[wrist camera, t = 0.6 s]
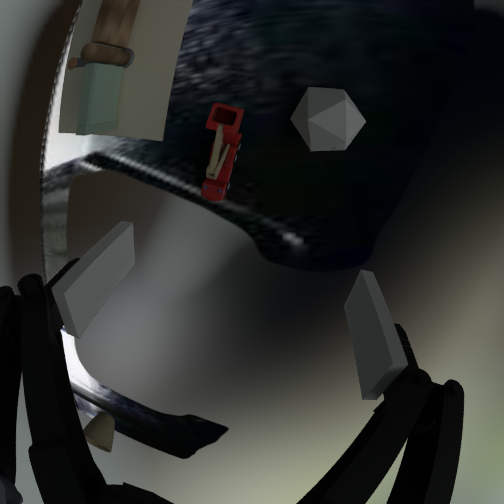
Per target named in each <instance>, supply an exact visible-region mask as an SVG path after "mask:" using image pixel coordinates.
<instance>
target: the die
mask: <svg viewBox="0 0 504 504" xmlns="http://www.w3.org/2000/svg"><path fill="white" fill-rule="evenodd" d="M290 119H291V121H292V122H293V124H294V125H295V127H296V128H297V130H298V131H299V133H300V134H301V136H302V138H303V139H304V141H305V142H306V144H307V145H308V147H309V149H310V150H311V151H326V150H345V149H346V148H347V147H348V145H349V144H350V143H351V141H352V140H353V138H354V137H355V136H356V134H357V133H358V132H359V130H360V129H361V128H362V126H363V125H364V124H365V122H366V121H365V119H364V118H363V116H362V115H361V113H360V112H359V110H358V109H357V108H356V106H355V105H354V103H353V102H352V101H351V99H350V98H349V96H348V95H347V94H346V92H345V91H344V90H341V89H330V88H316V87H308V89H307V91H306V92H305V94H304V96H303V97H302V99H301V101H300V102H299V104H298V106H297V108H296V109H295V111H294V113H293V115H292V116H291V118H290Z"/></svg>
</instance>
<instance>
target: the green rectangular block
mask: <svg viewBox="0 0 504 504" xmlns="http://www.w3.org/2000/svg"><path fill="white" fill-rule="evenodd" d="M122 72H123V67H119V66H113V65H105V64H98V63H90V64H86V66H85V72H84V78H83V84H82V91H81V98H80V107H79V117H78V126H76V135H89V134H93V133H97V132H101V131H105V130H110V129H114V128H117V125H118V121H116V120H115V118H116V109H117V102H118V95H119V89H120V83H121V77H122Z"/></svg>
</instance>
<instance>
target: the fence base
mask: <svg viewBox="0 0 504 504" xmlns="http://www.w3.org/2000/svg"><path fill="white" fill-rule="evenodd" d="M140 1H141V0H103V1H102V4H101V7H100V10H99V13H98V16H97V20H96V23H95V27H94V31H93V34H92V38H91V42H92V43H99V44H103V45H108V46H112V47H116V48H120V49H125V48H128V44H129V40H130V36H131V32H132V28H133V24H134V21H135V17H136V14H137V11H138V7H139V4H140ZM92 43H88V44H86V45H85V46H84V47H83V48H82V50H81V53H80V56H81V59H83V60H88V61H97V62H104V63H111V64H118V65H126V64H127V63H128V62H129V61H130V58H131V55H130V53H129V52H127V51H123V50H119V49H115V48H111V47H107V46H102V45H97V44H92Z"/></svg>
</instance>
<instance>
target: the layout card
mask: <svg viewBox="0 0 504 504" xmlns="http://www.w3.org/2000/svg"><path fill="white" fill-rule="evenodd" d="M102 1H103V0H83V3H82V6H81V9H80V12H79V15H78V18H77V22H76V25H75V29H74V33H73V37H72V41H71V45H70V50H69V54H68V59H67V64H66V70H65V76H64V83H63V90H62V98H61V107H60V118H59V133H76V126H78V117H79V107H80V98H81V91H82V84H83V78H84V72H85V66H86V64H90V63H98V64H105V65H113V66H119V67H123V72H122V77H121V83H120V89H119V95H118V102H117V109H116V118H115V120H116V121H118V125H117V128H114V129H110V130H105V131H101V132H97V133H93V134H96V135H110V136H121V137H131V138H140V139H149V140H157V141H163V135H164V128H165V122H166V115H167V109H168V103H169V98H170V92H171V87H172V82H173V77H174V72H175V68H176V63H177V59H178V54H179V50H180V46H181V42H182V38H183V34H184V30H185V26H186V23H187V19H188V16H189V12H190V9H191V6H192V2H193V0H141V1H140V4H139V7H138V11H137V14H136V17H135V21H134V24H133V28H132V32H131V36H130V40H129V44H128V48H125V49H120V48H116V47H112V46H108V45H103V44H99V43H92V42H91V38H92V34H93V31H94V27H95V23H96V20H97V16H98V13H99V10H100V7H101V4H102ZM88 43H92V44H97V45H102V46H107V47H111V48H115V49H119V50H123V51H127V52H129V53H130V55H131V58H130V61H129V62H128V63H127V64H126V65H118V64H111V63H104V62H97V61H88V60H83V59H81V56H80V53H81V50H82V48H83V47H84V46H85V45H86V44H88Z"/></svg>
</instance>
